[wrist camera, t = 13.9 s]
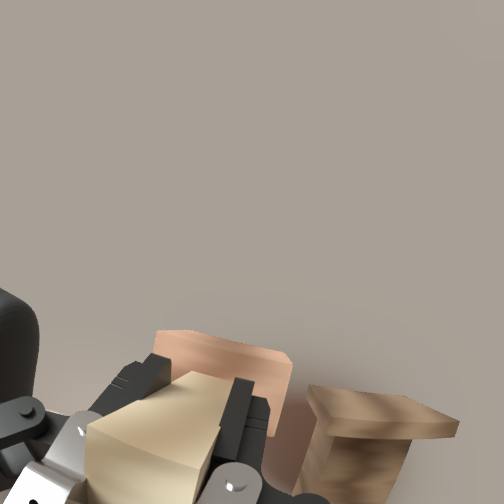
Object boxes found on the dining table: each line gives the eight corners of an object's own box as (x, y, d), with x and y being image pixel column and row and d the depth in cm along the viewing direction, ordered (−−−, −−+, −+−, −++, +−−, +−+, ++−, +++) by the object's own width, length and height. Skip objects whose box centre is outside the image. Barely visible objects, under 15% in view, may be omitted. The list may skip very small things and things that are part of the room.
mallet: (18, 459, 4) (24, 324, 5) (179, 380, 20) (190, 329, 21) (281, 563, 4) (338, 426, 5) (271, 403, 20) (284, 352, 21)
